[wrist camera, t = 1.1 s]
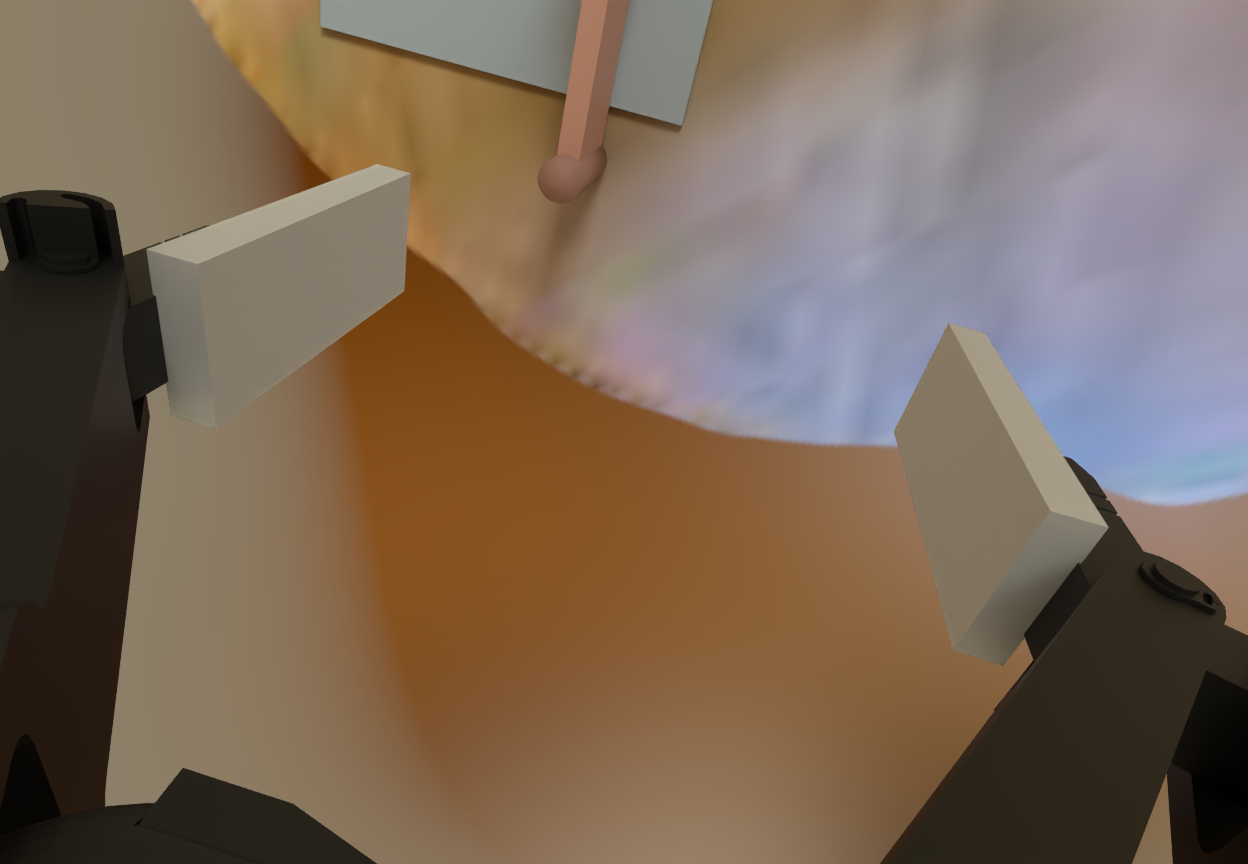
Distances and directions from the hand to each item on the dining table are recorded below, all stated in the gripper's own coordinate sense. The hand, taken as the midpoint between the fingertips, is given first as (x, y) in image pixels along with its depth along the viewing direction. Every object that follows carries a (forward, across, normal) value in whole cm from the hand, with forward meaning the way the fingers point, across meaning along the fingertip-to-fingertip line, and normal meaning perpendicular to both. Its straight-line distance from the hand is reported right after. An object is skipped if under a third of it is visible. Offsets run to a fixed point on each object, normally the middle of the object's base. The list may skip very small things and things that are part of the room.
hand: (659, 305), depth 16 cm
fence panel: (+21, -6, +2) cm, 22 cm away
